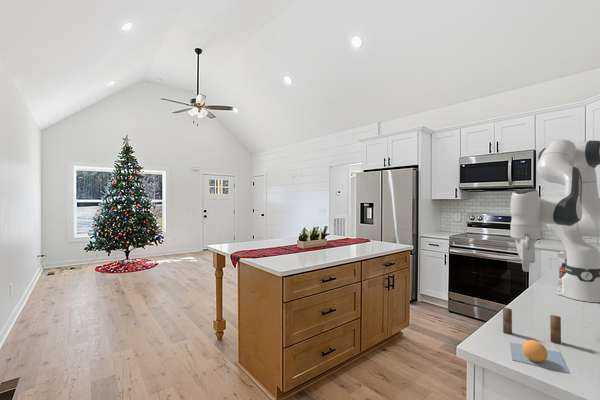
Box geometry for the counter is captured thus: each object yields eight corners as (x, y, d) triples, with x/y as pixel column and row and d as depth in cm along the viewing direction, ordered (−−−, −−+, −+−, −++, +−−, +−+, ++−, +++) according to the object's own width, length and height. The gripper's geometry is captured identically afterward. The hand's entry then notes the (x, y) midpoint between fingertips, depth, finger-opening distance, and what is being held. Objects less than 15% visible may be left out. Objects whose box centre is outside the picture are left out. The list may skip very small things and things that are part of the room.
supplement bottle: (556, 283, 156) (555, 262, 156) (566, 283, 156) (566, 262, 156) (567, 286, 150) (567, 264, 150) (578, 286, 150) (577, 264, 150)
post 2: (550, 339, 95) (549, 314, 95) (560, 341, 93) (559, 316, 93) (551, 342, 93) (550, 317, 93) (561, 344, 91) (561, 318, 91)
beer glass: (578, 281, 160) (577, 253, 160) (563, 280, 161) (562, 253, 161) (569, 277, 166) (568, 251, 166) (554, 277, 168) (554, 251, 168)
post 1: (503, 330, 102) (502, 307, 102) (511, 332, 100) (511, 308, 100) (503, 333, 99) (502, 309, 100) (512, 335, 98) (512, 311, 98)
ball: (522, 361, 84) (521, 342, 87) (547, 367, 81) (545, 347, 84) (523, 354, 81) (522, 334, 84) (549, 360, 78) (547, 339, 81)
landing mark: (509, 342, 93) (509, 341, 93) (559, 352, 86) (559, 352, 86) (512, 360, 83) (512, 359, 83) (569, 373, 76) (569, 372, 76)
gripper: (540, 236, 97) (541, 278, 97) (532, 230, 114) (533, 266, 114) (516, 235, 100) (517, 276, 100) (512, 230, 118) (513, 264, 118)
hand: (525, 270), depth 107 cm, fingers closed
